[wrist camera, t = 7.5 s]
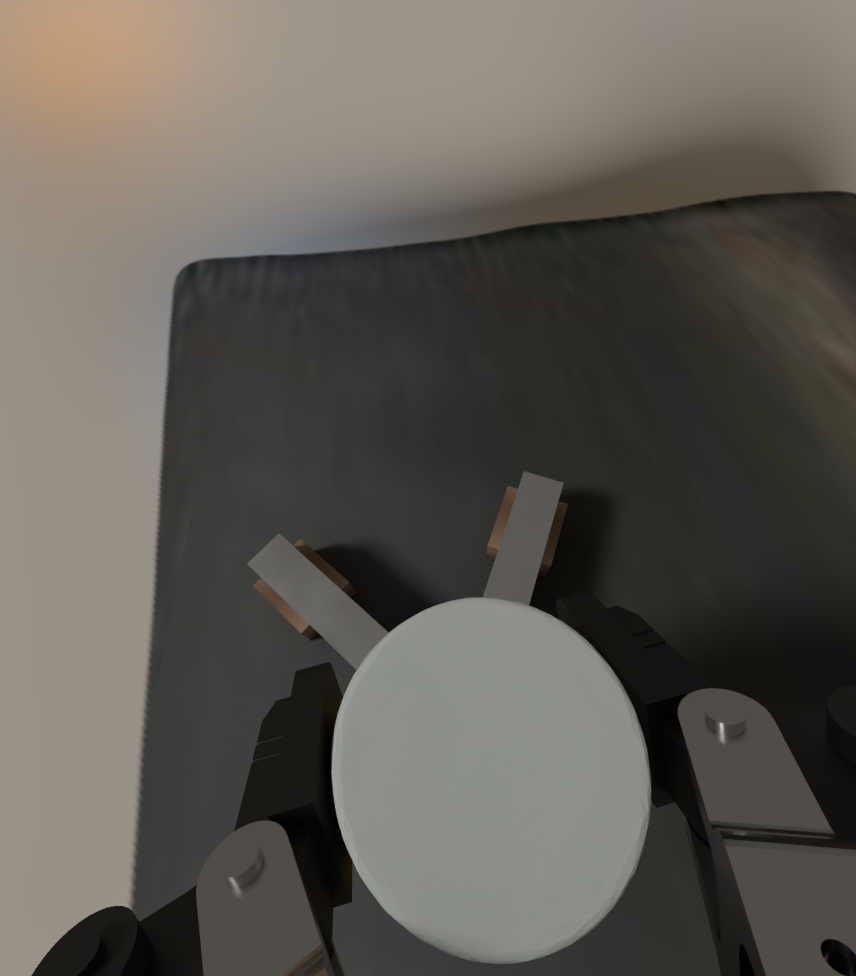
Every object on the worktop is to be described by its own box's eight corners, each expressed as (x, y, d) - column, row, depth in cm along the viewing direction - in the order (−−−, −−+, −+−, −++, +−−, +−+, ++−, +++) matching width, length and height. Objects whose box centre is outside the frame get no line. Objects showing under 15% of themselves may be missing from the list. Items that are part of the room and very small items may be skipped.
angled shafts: (381, 418, 31) (376, 397, 29) (578, 511, 28) (587, 493, 26) (246, 597, 26) (229, 586, 24) (464, 741, 23) (465, 741, 21)
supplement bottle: (599, 771, 14) (823, 822, 5) (452, 907, 13) (447, 1245, 4) (484, 620, 16) (516, 488, 8) (348, 722, 15) (206, 702, 6)
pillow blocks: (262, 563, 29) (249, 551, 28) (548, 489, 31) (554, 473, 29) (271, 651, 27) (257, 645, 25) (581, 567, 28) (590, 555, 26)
